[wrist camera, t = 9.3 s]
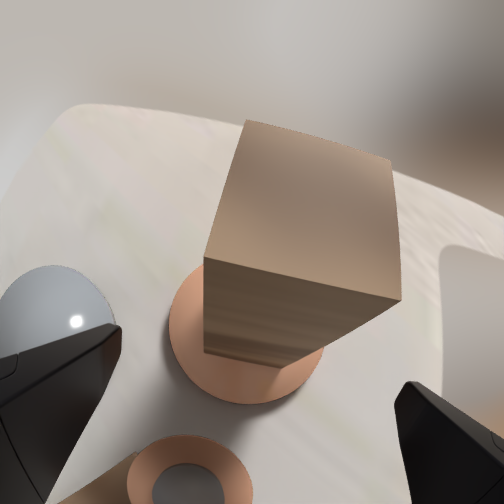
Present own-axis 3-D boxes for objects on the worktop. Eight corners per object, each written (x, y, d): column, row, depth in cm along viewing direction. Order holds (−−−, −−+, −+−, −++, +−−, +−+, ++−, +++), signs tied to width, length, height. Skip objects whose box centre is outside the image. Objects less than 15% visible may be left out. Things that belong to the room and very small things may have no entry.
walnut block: (281, 368, 19) (401, 300, 7) (203, 352, 18) (203, 256, 7) (292, 297, 21) (390, 160, 9) (220, 281, 21) (245, 119, 9)
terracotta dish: (311, 412, 19) (317, 412, 18) (156, 386, 18) (153, 385, 17) (324, 274, 23) (329, 267, 22) (189, 247, 23) (189, 239, 22)
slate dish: (100, 431, 16) (94, 433, 15) (-13, 379, 15) (-22, 377, 14) (134, 289, 21) (130, 283, 20) (23, 259, 20) (16, 252, 19)
